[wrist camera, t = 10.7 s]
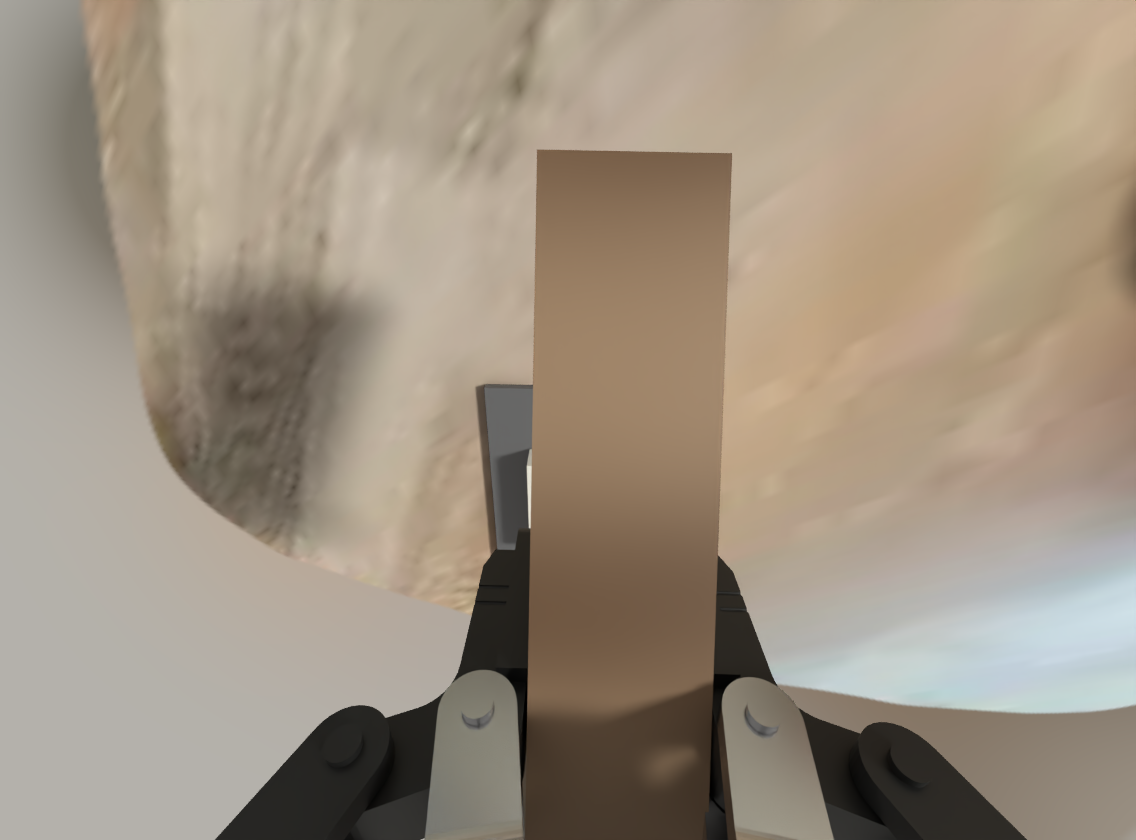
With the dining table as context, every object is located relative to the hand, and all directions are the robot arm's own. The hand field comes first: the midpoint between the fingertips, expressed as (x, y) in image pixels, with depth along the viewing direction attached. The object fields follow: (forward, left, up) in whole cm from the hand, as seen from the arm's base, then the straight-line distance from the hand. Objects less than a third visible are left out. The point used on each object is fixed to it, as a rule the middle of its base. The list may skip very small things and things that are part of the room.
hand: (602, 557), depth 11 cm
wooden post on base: (0, 0, -2) cm, 2 cm away
